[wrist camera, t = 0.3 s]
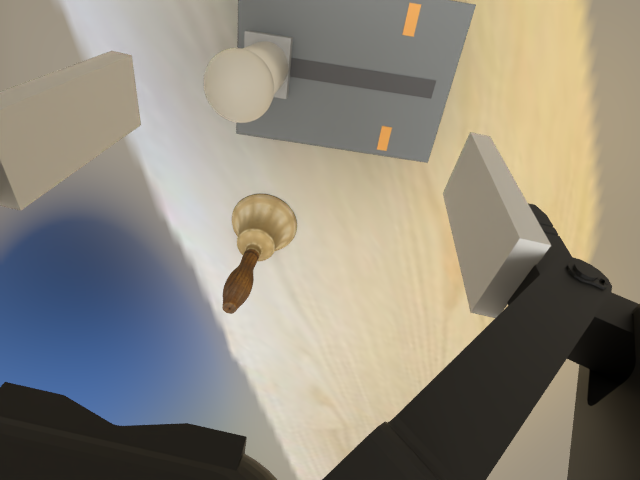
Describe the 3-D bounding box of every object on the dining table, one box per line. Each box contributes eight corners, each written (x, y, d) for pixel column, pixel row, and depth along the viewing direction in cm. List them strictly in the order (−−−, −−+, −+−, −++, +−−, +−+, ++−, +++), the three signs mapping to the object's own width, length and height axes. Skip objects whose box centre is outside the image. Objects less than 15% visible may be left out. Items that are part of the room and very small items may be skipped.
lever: (244, 29, 33) (191, 42, 22) (296, 37, 33) (270, 54, 22) (243, 89, 36) (195, 128, 24) (291, 96, 36) (265, 139, 24)
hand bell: (234, 247, 50) (192, 338, 36) (229, 190, 45) (180, 269, 32) (296, 252, 49) (277, 345, 36) (297, 196, 45) (277, 277, 32)
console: (246, -31, 33) (238, -34, 31) (466, 4, 34) (476, 4, 31) (243, 125, 41) (236, 133, 38) (422, 153, 41) (427, 162, 39)
